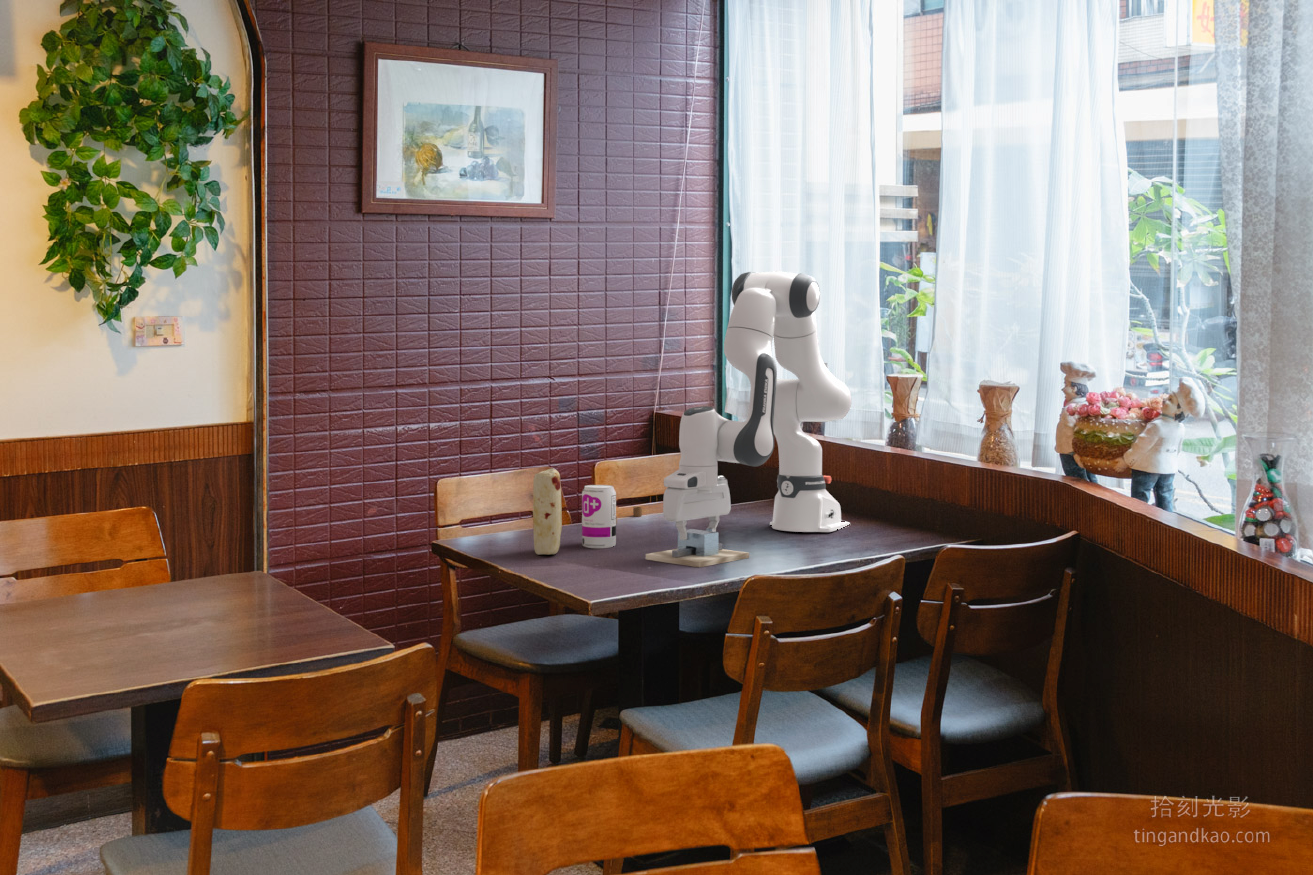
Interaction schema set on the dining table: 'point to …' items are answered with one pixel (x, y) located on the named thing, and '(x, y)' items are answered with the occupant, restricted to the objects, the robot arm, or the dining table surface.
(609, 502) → the supplement can
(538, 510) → the food model
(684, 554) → the guide rail
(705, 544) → the saddle block
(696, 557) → the rail base
